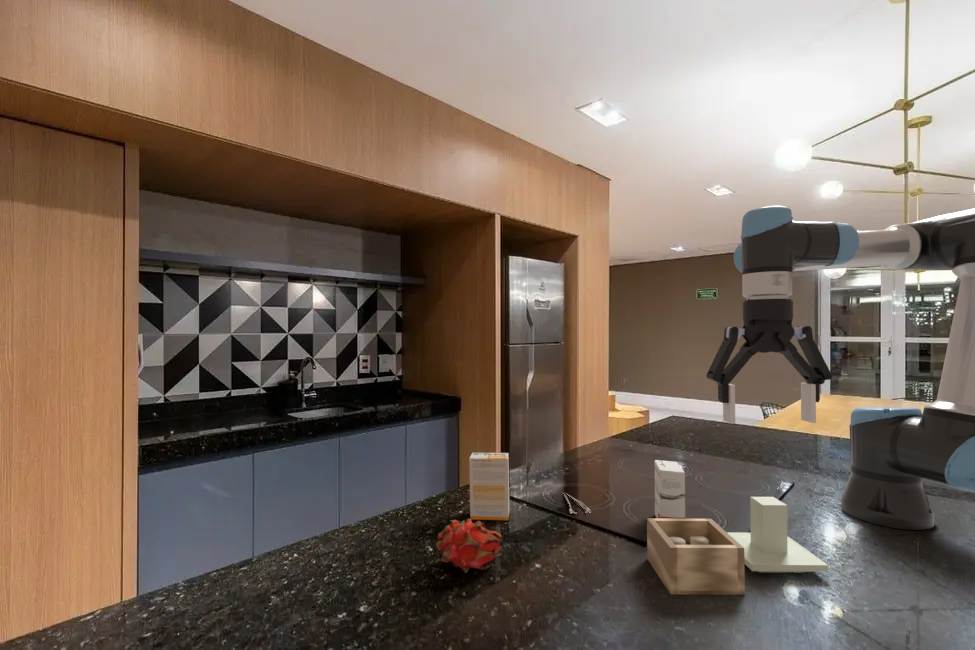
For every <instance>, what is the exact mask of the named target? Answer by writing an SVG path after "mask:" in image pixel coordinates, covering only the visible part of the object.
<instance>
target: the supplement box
mask: <svg viewBox="0 0 975 650" xmlns="http://www.w3.org/2000/svg"><path fill="white" fill-rule="evenodd" d="M468 459H469V512H470V513H469V516H470V518H469V519H471V521H475V520H476V521H481V520H483V521H507V522H508V521H509V518H510V466H509V465H510V463H509V461H510V457H509V452H472V453H471V454H470V456H469V458H468Z"/></svg>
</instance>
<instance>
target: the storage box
mask: <svg viewBox="0 0 975 650" xmlns="http://www.w3.org/2000/svg"><path fill="white" fill-rule="evenodd" d="M646 523H647V524H646V540H647V543H646V548H647V549H646V550H647V551H646V554H647V561H648V562H649V563H650V566H651V567H652V568H653V570H654V571H655V573H656V575H657V576H658V578H660V579H659V580H661V582H662V583H663V585H664V586H665V588H666V590H667V591H668V592H669V594H670V595H678V596H679V595H683V596H684V595H685V596H686V595H695V596H697V595H698V596H699V595H700V596H701V595H703V596H704V595H708V596H713V595H714V596H716V595H717V596H724V595H725V596H726V595H727V596H738V595H739V596H744V595H746V593H745V592H746V591H745V589H746V588H745V579H746V578H745V576H746V574H745V564H744V547H743V546H741V545H740V544H739V543H738V542H737V541H736V540H735V539H734V538H732V537H731V536H730V535H729V534H728V533H727V531H726V530H725V529H723V528H722V527H721V526H720V525H719V524H718V523H717V522H716V521H714V519H712V518H685V519H668V518H656V517H655V518H651V517H650V518H649V517H648V518H646Z"/></svg>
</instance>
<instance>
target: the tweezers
mask: <svg viewBox="0 0 975 650" xmlns="http://www.w3.org/2000/svg"><path fill="white" fill-rule="evenodd" d="M563 494H564V495H563ZM566 494H567V495H568V496H569V498H570V497H571V498H572V499H573V500H574V501H573V500H572V499H571V498H570V499H571V500H572V501H573V502H575V501H576V502H577V503H578V504H579V505H580V506H581V507H582V508H583V509H585V510H586V511H585V510H584V512H585V514H586V513H588V512H589V513H592V510H591V509H590V508H589V507H588V506H587V505H586V504H585V503H584V502H582V501H581V500H579V499H576V498H575V497H573V496H572V495H570V494H568V493H566ZM566 494H565V492H563V493H562V495H563V496H564V498H565V501H566V502H567V504H569V505H568V507H570V508H569V509H568V510H569V513H570V515H571V514H572V513H574V514H576V515H577V513H578V512H575V511H574V510H573V509H572V506H571V503H570V501H569V499H568V496H567V495H566ZM576 502H575V503H576ZM577 503H576V504H577ZM578 504H577V505H578ZM579 505H578V506H579ZM580 506H579V507H580ZM581 507H580V508H581ZM582 508H581V509H582ZM583 509H582V510H583Z"/></svg>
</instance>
